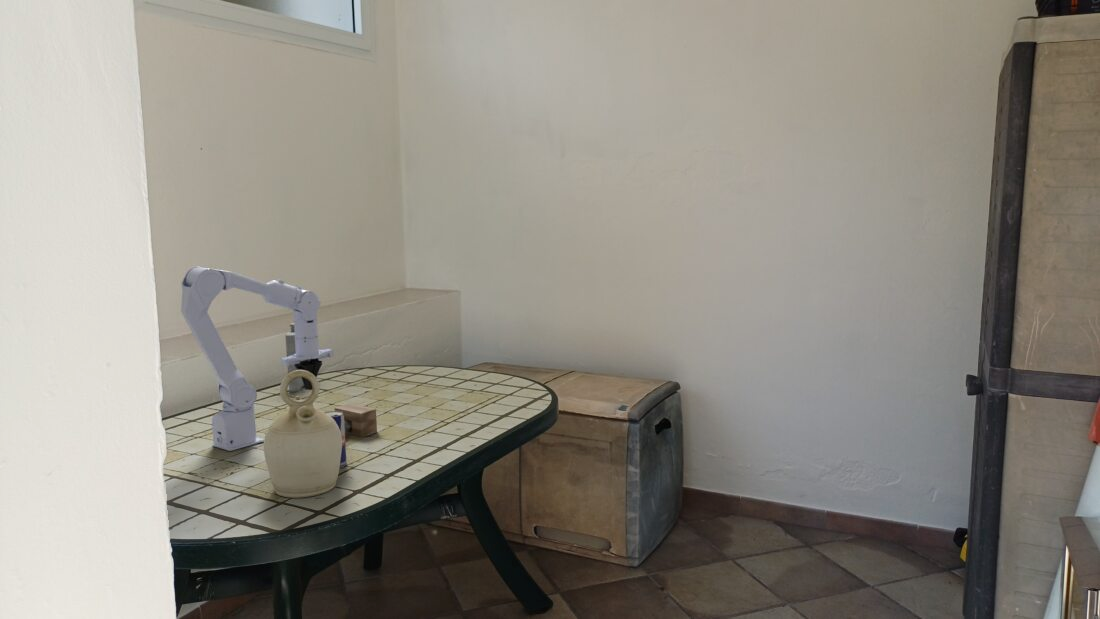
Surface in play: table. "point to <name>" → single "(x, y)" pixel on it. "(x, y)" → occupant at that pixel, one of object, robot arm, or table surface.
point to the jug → (302, 445)
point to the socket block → (359, 419)
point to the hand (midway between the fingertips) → (309, 388)
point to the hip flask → (291, 350)
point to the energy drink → (340, 422)
